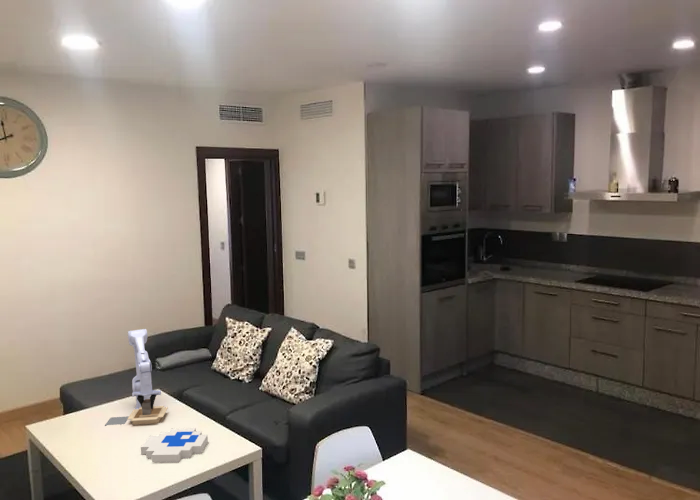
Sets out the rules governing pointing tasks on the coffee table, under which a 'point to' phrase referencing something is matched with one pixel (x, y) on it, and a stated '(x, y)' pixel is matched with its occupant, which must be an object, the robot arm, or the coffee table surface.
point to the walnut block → (146, 407)
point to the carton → (147, 419)
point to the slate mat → (116, 420)
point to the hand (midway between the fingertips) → (147, 408)
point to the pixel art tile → (174, 445)
